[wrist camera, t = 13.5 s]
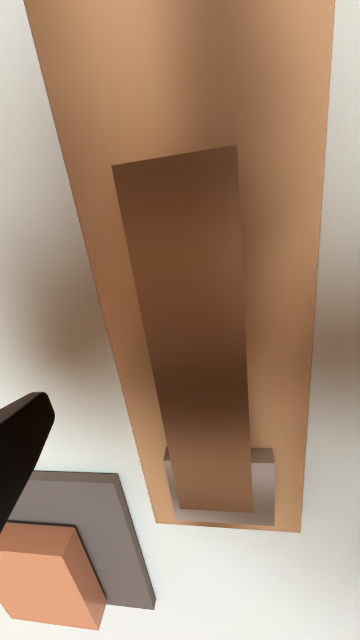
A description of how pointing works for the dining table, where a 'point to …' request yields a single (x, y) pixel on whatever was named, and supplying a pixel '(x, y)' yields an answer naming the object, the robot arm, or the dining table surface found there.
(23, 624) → the dining table surface
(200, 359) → the brown wooden plank
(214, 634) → the dining table surface
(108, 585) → the mat
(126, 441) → the dining table surface
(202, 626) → the dining table surface
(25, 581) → the tile
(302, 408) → the board
